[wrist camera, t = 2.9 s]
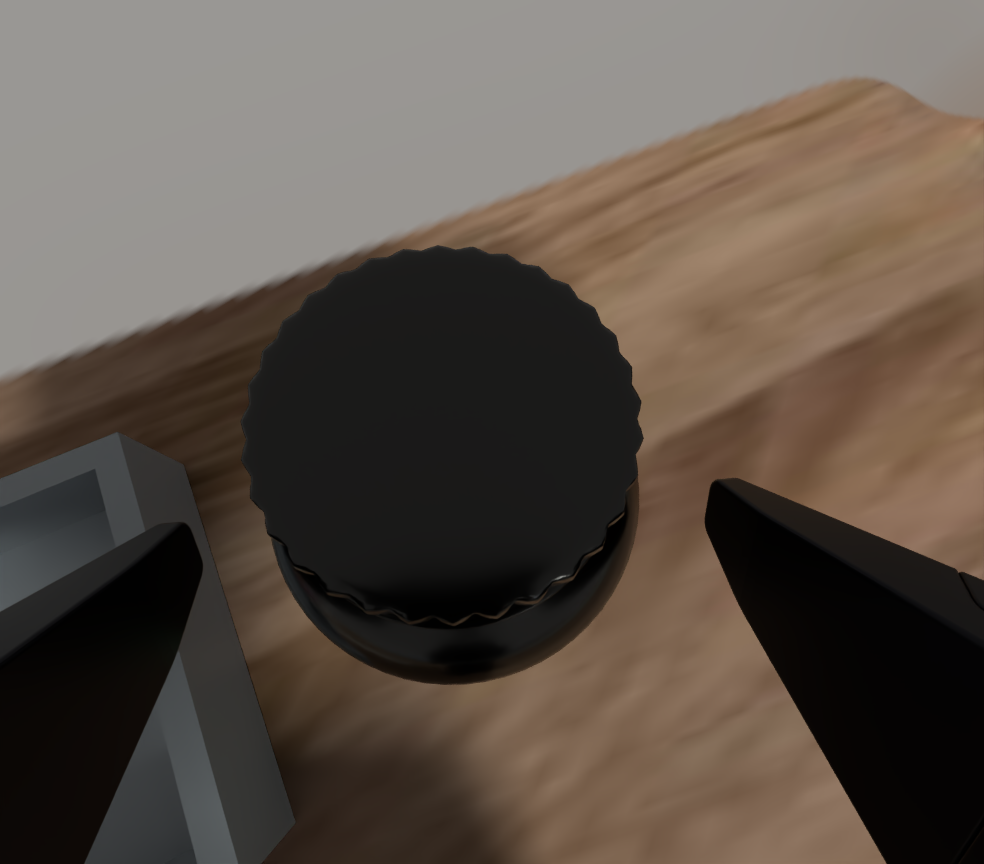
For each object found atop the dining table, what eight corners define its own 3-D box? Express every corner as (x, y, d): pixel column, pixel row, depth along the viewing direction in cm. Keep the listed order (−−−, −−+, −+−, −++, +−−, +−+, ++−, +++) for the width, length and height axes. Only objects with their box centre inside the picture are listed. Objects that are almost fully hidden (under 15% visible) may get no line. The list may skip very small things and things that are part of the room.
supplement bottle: (426, 696, 16) (304, 906, 5) (326, 506, 18) (60, 322, 6) (607, 574, 17) (857, 504, 6) (497, 408, 19) (528, 111, 8)
